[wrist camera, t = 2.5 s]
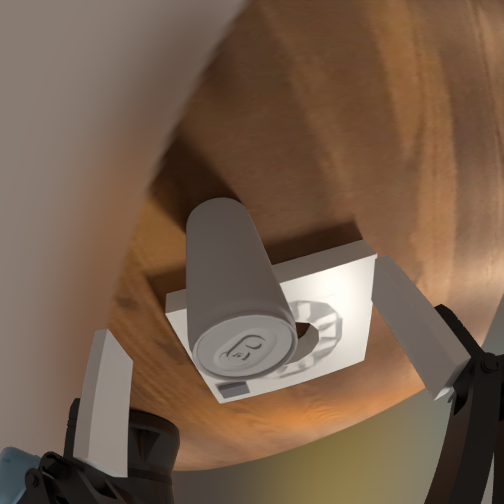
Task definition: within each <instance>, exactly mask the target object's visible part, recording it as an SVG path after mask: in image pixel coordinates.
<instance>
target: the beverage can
mask: <svg viewBox="0 0 504 504" xmlns="http://www.w3.org/2000/svg"><path fill="white" fill-rule="evenodd" d="M186 305H187V335H188V343H189V349H190V351H191V353H192V358H193V362H194V363H195V365H196V367H197V368H198V369H199V370H200V371H201V372H203V373H204V374H205V375H207V376H209V377H212V378H214V379H218V380H222V381H231V382H240V381H249V380H254V379H257V378H261V377H264V376H266V375H268V374H271V373H273V372H275V371H276V370H278V369H279V368H281V367H282V366H284V365H285V364H286V363H287V362H288V361H289V360H290V359H291V357H292V356H293V354H294V353H295V351H296V348H297V344H298V338H297V332H296V325H295V319H294V317H293V314H292V312H291V309H290V307H289V305H288V302H287V300H286V298H285V295H284V293H283V291H282V288H281V286H280V284H279V281H278V279H277V277H276V274H275V272H274V270H273V267H272V265H271V263H270V260H269V258H268V256H267V253H266V251H265V249H264V246H263V244H262V242H261V239H260V237H259V235H258V232H257V230H256V228H255V225H254V223H253V221H252V219H251V216H250V214H249V212H248V211H247V209H246V208H245V207H244V206H243V205H242V204H241V203H240V202H238V201H236V200H234V199H230V198H225V197H223V198H214V199H210V200H207V201H205V202H203V203H201V204H199V205H198V206H197V207H196V208H195V209H194V210H193V211H192V212H191V214H190V216H189V217H188V221H187V225H186Z"/></svg>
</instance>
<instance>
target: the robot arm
mask: <svg viewBox="0 0 504 504" xmlns="http://www.w3.org/2000/svg"><path fill="white" fill-rule="evenodd" d="M371 301H372V302H373V304H374V305H375V307H376V308H377V309H378V311H379V312H380V314H381V315H382V317H383V319H384V320H385V322H386V323H387V325H388V326H389V328H390V329H391V331H392V332H393V334H394V335H395V337H396V339H397V340H398V342H399V343H400V345H401V346H402V348H403V350H404V351H405V353H406V354H407V356H408V358H409V359H410V361H411V363H412V364H413V366H414V368H415V369H416V371H417V372H418V374H419V376H420V378H421V379H422V381H423V383H424V384H425V386H426V388H427V389H428V391H429V393H430V395H431V396H432V398H433V400H436V399H438V398H439V397H441V396H443V395H444V394H446V393H448V391H449V389H450V388H451V387H452V386H453V388H454V390H455V391H454V392H453V394H452V395H451V396H450V398H449V400H448V403H450V402H451V400H452V399H453V401H452V406H451V412H450V417H449V422H448V426H447V431H446V435H445V439H444V444H443V447H442V451H441V455H440V458H439V462H438V465H437V468H436V472H435V475H434V478H433V481H432V484H431V486H430V489H429V492H428V495H427V498H426V500H425V503H424V504H481V501H482V498H483V495H484V491H485V488H486V484H487V480H488V476H489V471H490V467H491V463H492V458H493V453H494V481H493V496H492V504H504V354H503V355H499V356H495V355H494V354H492V353H485V352H484V351H483V350H482V349H481V348H480V346H479V345H478V344H477V342H476V341H475V340H474V338H473V337H472V336H471V334H470V333H469V332H468V331H467V329H466V328H465V327H463V324H462V323H461V322H460V320H458V318H457V317H456V315H455V314H454V313H453V312H452V311H451V310H450V309H449V308H447V307H446V306H444V305H442V304H440V305H438V306H436V307H433V306H432V305H431V304H430V302H429V301H428V300H427V299H426V297H425V296H424V295H423V294H422V293H421V291H420V290H419V289H418V288H417V287H416V286H415V284H414V283H413V282H412V281H411V280H410V279H409V277H408V276H407V275H406V274H405V273H404V272H403V271H402V269H401V268H400V267H399V266H398V265H397V264H396V263H395V262H394V260H393V259H392V258H391V257H390V256H389V255H385V256H382V257H379V258H376V259H375V265H374V276H373V286H372V296H371ZM132 367H133V361H132V360H131V358H130V357H129V356H128V355H127V353H126V352H125V351H124V350H123V348H122V347H121V346H120V344H119V343H118V342H117V340H116V339H115V338H114V336H113V335H112V334H111V332H110V331H109V330H108V329H103V330H98V331H95V334H94V338H93V342H92V346H91V350H90V355H89V359H88V364H87V369H86V373H85V378H84V383H83V388H82V394H81V398H75V400H74V401H73V403H72V405H71V407H70V412H69V420H68V424H67V426H68V428H67V432H66V438H65V448H64V455H63V457H62V456H60V455H58V454H57V453H55V452H47V453H45V454H44V455H43V457H42V458H40V457H39V456H37V455H32V454H29V453H27V452H24V451H22V450H20V449H17V448H15V447H7V448H5V449H3V450H2V452H1V454H0V504H175V503H174V495H173V487H172V470H173V467H174V463H175V460H176V457H177V453H178V450H179V446H180V437H179V430H178V428H177V427H176V426H175V425H173V424H172V423H170V422H168V421H166V420H164V419H162V418H159V417H156V416H153V415H149V414H145V413H140V412H135V411H129V401H130V388H131V377H132Z"/></svg>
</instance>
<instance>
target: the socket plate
mask: <svg viewBox="0 0 504 504" xmlns="http://www.w3.org/2000/svg"><path fill="white" fill-rule="evenodd" d="M376 258H377V253H376V252H375V251H374V250H373V249H372V248H371V247H370V245H369V244H368V243H367V242H366V241H365V240H364V239H362V240H359V241H355V242H352V243H348V244H345V245H341V246H338V247H335V248H331V249H328V250H324V251H321V252H317V253H314V254H310V255H307V256H303V257H300V258H296V259H293V260H289V261H285V262H282V263H278V264H275V265H272V267H273V270H274V272H275V274H276V277H277V279H278V281H279V284H280V286H281V288H282V291H283V293H284V295H285V298H286V300H287V302H288V305H289V307H290V309H291V312H292V314H293V317H294V319H295V322H304V323H310V324H311V325H310V326H309V328H308V330H307V331H306V333H305V335H304V336H302V337H301V338H299V339H298V344H297V348H296V351H295V353H294V354H293V356H292V357H291V359H290V360H289V361H288V362H287V363H286V364H285V365H284V366H282V367H281V368H279V369H278V370H276V371H275V372H273V373H271V374H268V375H266V376H264V377H261V378H257V379H254V380H249V381H240V382H231V381H222V380H218V379H214V378H212V377H209V376H207V375H205V374H204V373H203V372H201V371H200V370H199V369H198V368H197V367H196V368H197V369H198V371H199V372H200V374H201V376H202V377H203V379H204V380H205V382H206V383H207V385H208V387H209V388H210V390H211V391H212V393H213V394H214V396H215V397H216V399H217V400H218V402H219V403H225V402H230V401H234V400H238V399H243V398H247V397H251V396H255V395H259V394H263V393H266V392H270V391H274V390H277V389H281V388H284V387H288V386H291V385H294V384H298V383H301V382H304V381H307V380H310V379H313V378H316V377H319V376H322V375H325V374H328V373H331V372H334V371H337V370H339V369H342V368H345V367H347V366H350V365H353V364H355V363H358V362H360V361H363V360H364V357H365V351H366V345H367V339H368V333H369V326H370V319H371V312H372V304H373V302H372V301H371V296H372V286H373V276H374V265H375V259H376ZM165 314H166V316H167V318H168V320H169V321H170V323H171V325H172V327H173V329H174V330H175V332H176V334H177V336H178V337H179V339H180V341H181V343H182V344H183V346H184V348H185V349H186V351H187V353H188V354H189V356H190V358H191V359H192V361H193V358H192V353H191V351H190V349H189V343H188V335H187V305H186V289H182V290H179V291H175V292H171V293H167V294H166V310H165ZM193 363H194V362H193ZM194 364H195V363H194ZM195 366H196V365H195Z"/></svg>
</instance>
